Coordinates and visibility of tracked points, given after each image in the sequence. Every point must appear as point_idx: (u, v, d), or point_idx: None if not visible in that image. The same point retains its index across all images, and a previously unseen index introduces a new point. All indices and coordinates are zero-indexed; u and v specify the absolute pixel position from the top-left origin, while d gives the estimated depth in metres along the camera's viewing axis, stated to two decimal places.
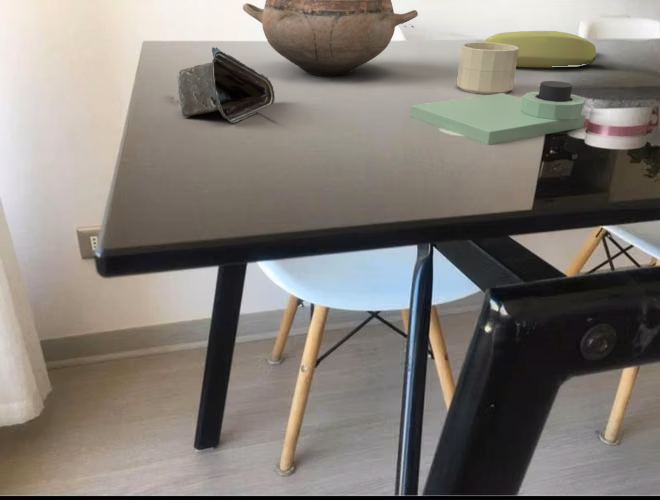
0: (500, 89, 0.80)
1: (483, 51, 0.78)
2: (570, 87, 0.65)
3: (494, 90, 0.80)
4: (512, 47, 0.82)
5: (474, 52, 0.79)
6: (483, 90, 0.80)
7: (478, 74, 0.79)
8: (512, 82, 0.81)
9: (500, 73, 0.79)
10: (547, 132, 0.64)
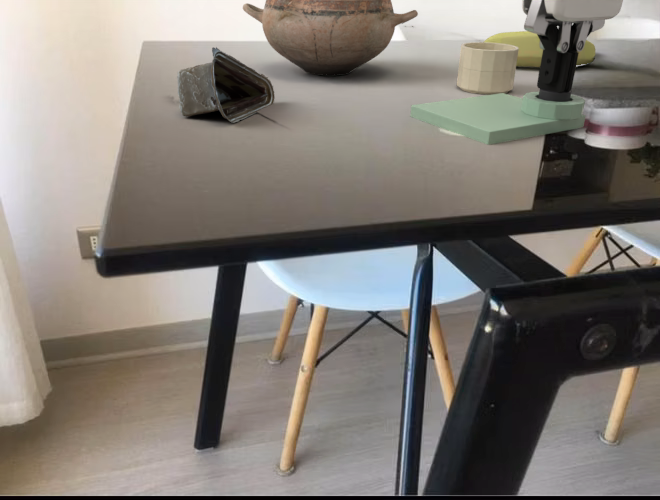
0: (500, 89, 0.80)
1: (483, 51, 0.78)
2: (569, 93, 0.65)
3: (494, 90, 0.80)
4: (512, 47, 0.82)
5: (474, 52, 0.79)
6: (483, 90, 0.80)
7: (478, 74, 0.79)
8: (512, 82, 0.81)
9: (500, 73, 0.79)
10: (547, 132, 0.64)
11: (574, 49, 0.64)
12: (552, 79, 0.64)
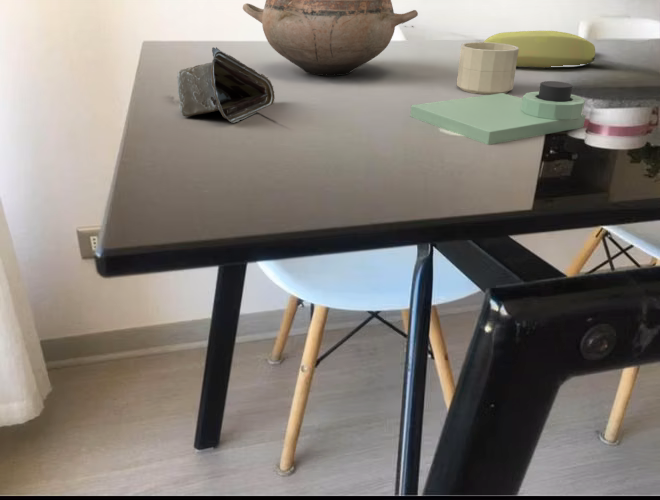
0: (500, 89, 0.80)
1: (483, 51, 0.78)
2: (570, 87, 0.65)
3: (494, 90, 0.80)
4: (512, 47, 0.82)
5: (474, 52, 0.79)
6: (483, 90, 0.80)
7: (478, 74, 0.79)
8: (512, 82, 0.81)
9: (500, 73, 0.79)
10: (547, 132, 0.64)
11: None
12: None
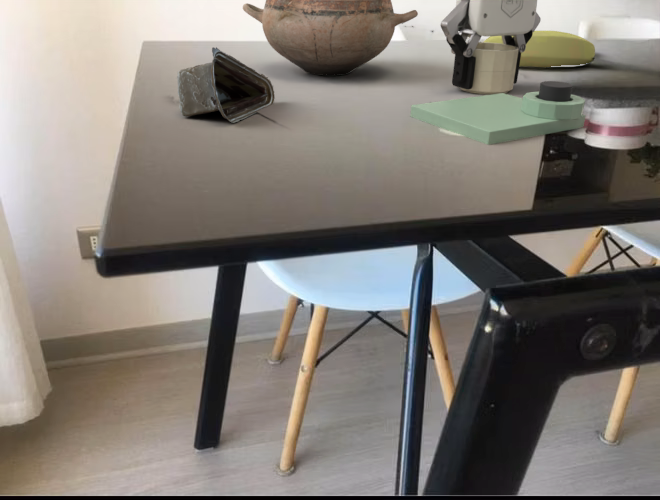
0: (500, 89, 0.80)
1: (483, 51, 0.78)
2: (570, 87, 0.65)
3: (494, 90, 0.80)
4: (512, 47, 0.82)
5: (474, 52, 0.79)
6: (483, 90, 0.80)
7: (478, 74, 0.79)
8: (512, 82, 0.81)
9: (500, 73, 0.79)
10: (547, 132, 0.64)
11: (518, 50, 0.82)
12: (461, 78, 0.80)
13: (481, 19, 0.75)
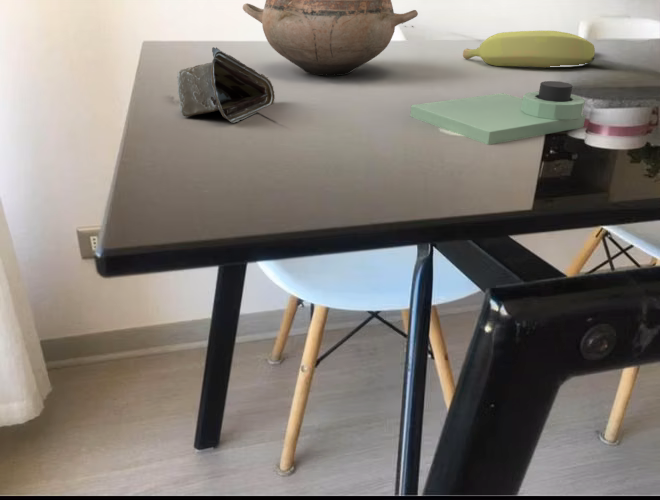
0: None
1: None
2: (570, 87, 0.65)
3: None
4: None
5: None
6: None
7: None
8: None
9: None
10: (547, 132, 0.64)
11: None
12: None
13: None
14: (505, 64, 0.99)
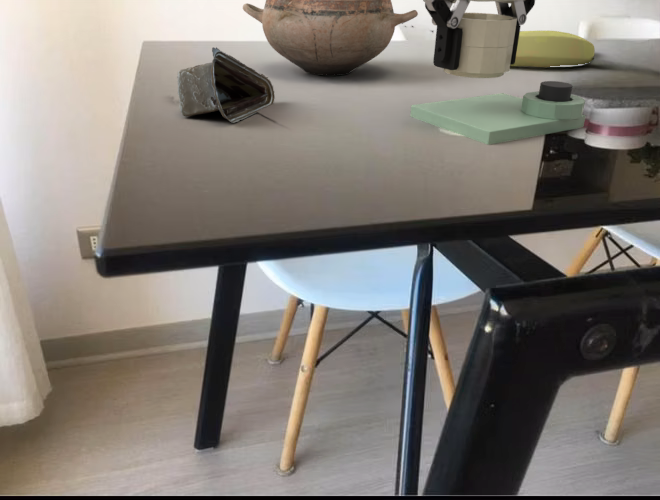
0: (493, 70, 0.63)
1: (472, 21, 0.61)
2: (570, 87, 0.65)
3: (486, 71, 0.63)
4: (509, 18, 0.65)
5: (460, 22, 0.62)
6: (472, 71, 0.63)
7: (466, 51, 0.62)
8: (508, 62, 0.64)
9: (493, 49, 0.62)
10: (547, 132, 0.64)
11: None
12: (444, 56, 0.63)
13: None
14: None
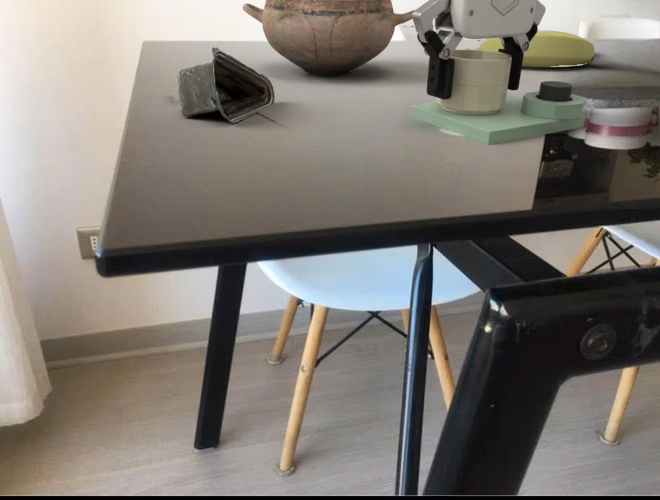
0: (489, 107, 0.65)
1: (467, 61, 0.63)
2: (570, 87, 0.65)
3: (481, 109, 0.65)
4: (504, 55, 0.66)
5: (456, 62, 0.63)
6: (468, 109, 0.65)
7: (462, 89, 0.64)
8: (504, 99, 0.66)
9: (489, 88, 0.64)
10: (547, 132, 0.64)
11: (520, 50, 0.67)
12: (437, 86, 0.63)
13: (466, 18, 0.60)
14: None
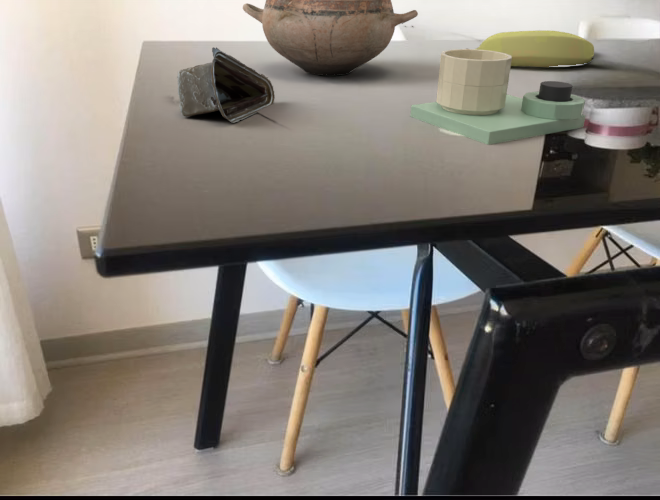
0: (489, 107, 0.65)
1: (467, 61, 0.63)
2: (570, 87, 0.65)
3: (481, 109, 0.65)
4: (504, 55, 0.66)
5: (456, 62, 0.63)
6: (468, 109, 0.65)
7: (462, 89, 0.64)
8: (504, 99, 0.66)
9: (489, 88, 0.64)
10: (547, 132, 0.64)
11: None
12: None
13: None
14: None
